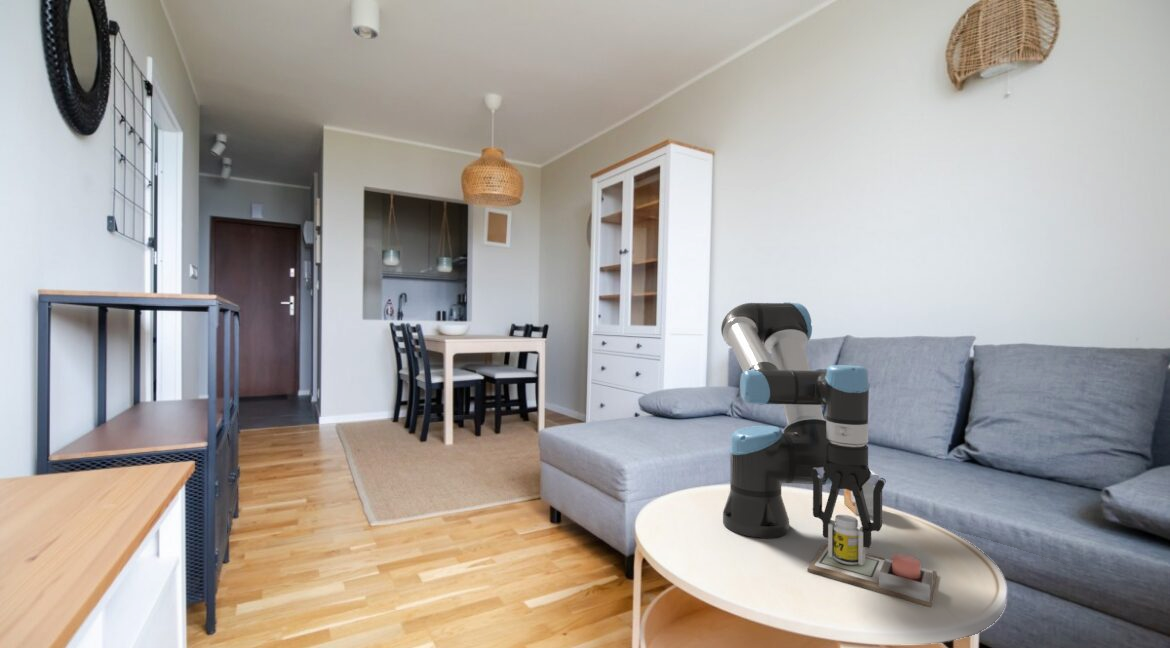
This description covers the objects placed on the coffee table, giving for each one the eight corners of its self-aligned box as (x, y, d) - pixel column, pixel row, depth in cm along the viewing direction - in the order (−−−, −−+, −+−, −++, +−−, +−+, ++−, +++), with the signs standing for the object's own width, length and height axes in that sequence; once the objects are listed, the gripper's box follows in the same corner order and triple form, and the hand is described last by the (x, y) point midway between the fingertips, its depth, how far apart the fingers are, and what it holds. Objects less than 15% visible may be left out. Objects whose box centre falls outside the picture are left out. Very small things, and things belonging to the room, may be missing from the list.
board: (807, 571, 99) (807, 555, 99) (825, 546, 110) (825, 531, 110) (930, 607, 87) (930, 588, 87) (936, 575, 98) (936, 558, 98)
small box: (843, 504, 136) (843, 465, 136) (865, 505, 135) (866, 465, 135) (855, 515, 128) (855, 473, 128) (879, 516, 127) (879, 474, 127)
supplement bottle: (828, 554, 104) (828, 513, 104) (850, 554, 104) (850, 513, 104) (842, 565, 99) (842, 522, 99) (865, 565, 99) (865, 522, 99)
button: (890, 577, 92) (890, 560, 92) (893, 567, 96) (893, 552, 96) (919, 584, 89) (919, 567, 89) (921, 575, 93) (921, 558, 93)
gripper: (795, 439, 104) (794, 552, 104) (896, 453, 93) (895, 579, 93) (805, 433, 110) (805, 539, 110) (901, 445, 99) (900, 564, 99)
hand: (846, 557), depth 102 cm, fingers closed on supplement bottle, 5 cm apart
